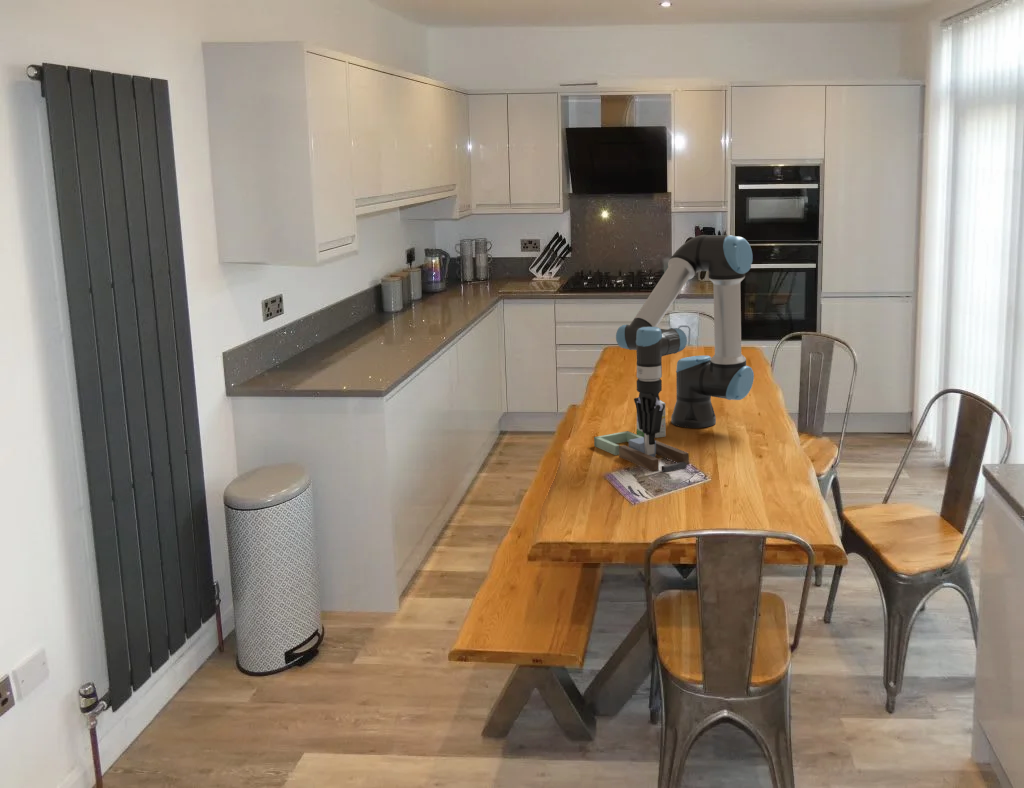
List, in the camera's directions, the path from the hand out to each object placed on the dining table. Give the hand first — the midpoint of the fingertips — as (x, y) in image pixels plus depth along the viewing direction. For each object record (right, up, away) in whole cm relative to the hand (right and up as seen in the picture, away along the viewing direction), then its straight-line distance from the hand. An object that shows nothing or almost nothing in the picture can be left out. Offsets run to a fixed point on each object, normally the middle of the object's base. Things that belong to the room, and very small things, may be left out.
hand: (649, 453), depth 309 cm
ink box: (+4, +4, +25) cm, 25 cm away
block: (-2, -1, +4) cm, 4 cm away
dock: (-7, +1, +14) cm, 15 cm away
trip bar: (+6, -4, -11) cm, 13 cm away
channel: (+1, -2, -1) cm, 3 cm away
